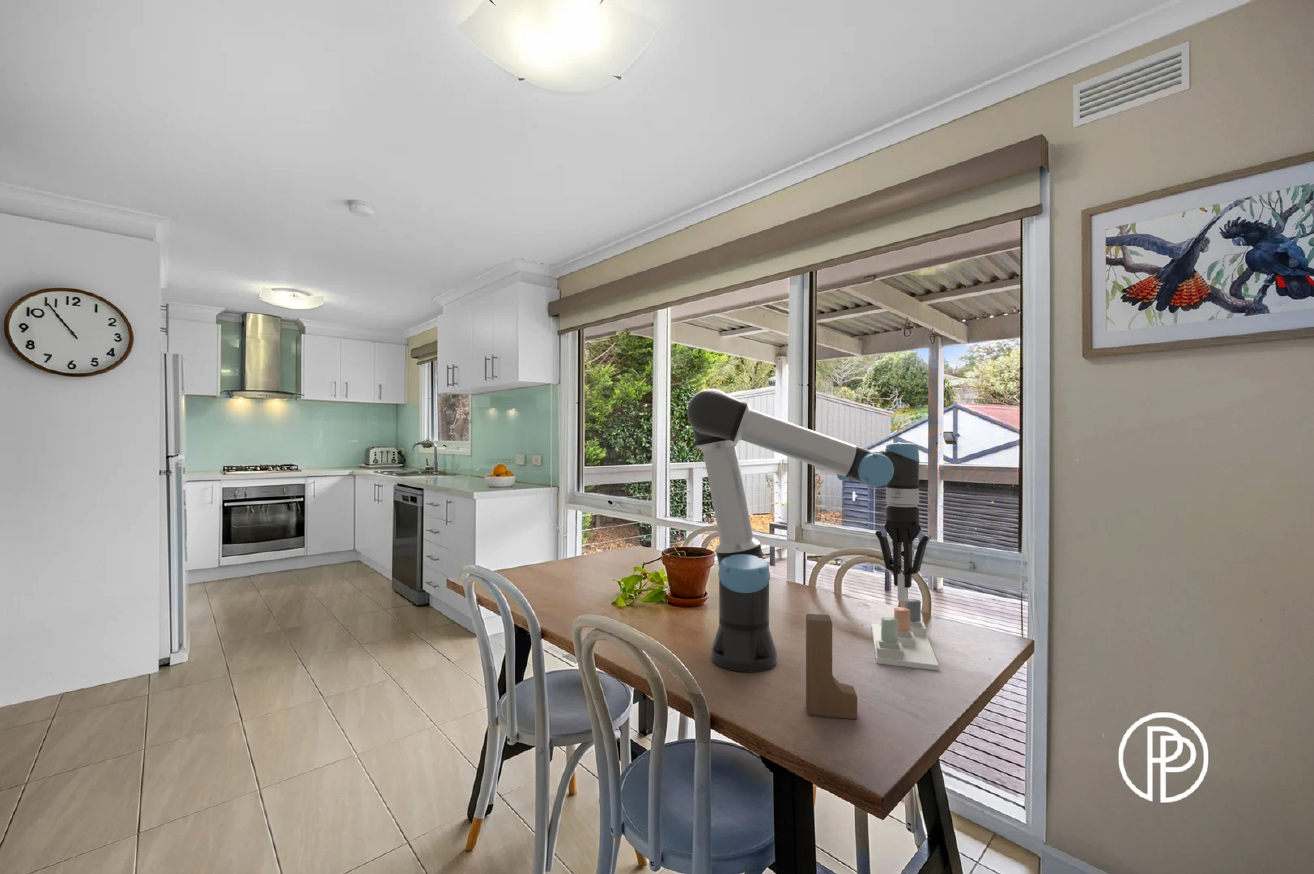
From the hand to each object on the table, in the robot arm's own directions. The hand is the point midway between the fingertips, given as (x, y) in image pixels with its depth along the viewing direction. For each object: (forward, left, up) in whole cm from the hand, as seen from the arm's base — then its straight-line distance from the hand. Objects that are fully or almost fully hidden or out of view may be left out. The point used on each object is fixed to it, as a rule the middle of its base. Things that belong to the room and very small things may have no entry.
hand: (902, 599), depth 142 cm
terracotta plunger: (0, 0, -7) cm, 7 cm away
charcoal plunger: (+3, +9, -7) cm, 12 cm away
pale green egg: (-4, -9, -7) cm, 12 cm away
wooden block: (-16, -40, -12) cm, 45 cm away
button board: (0, 0, -12) cm, 12 cm away
